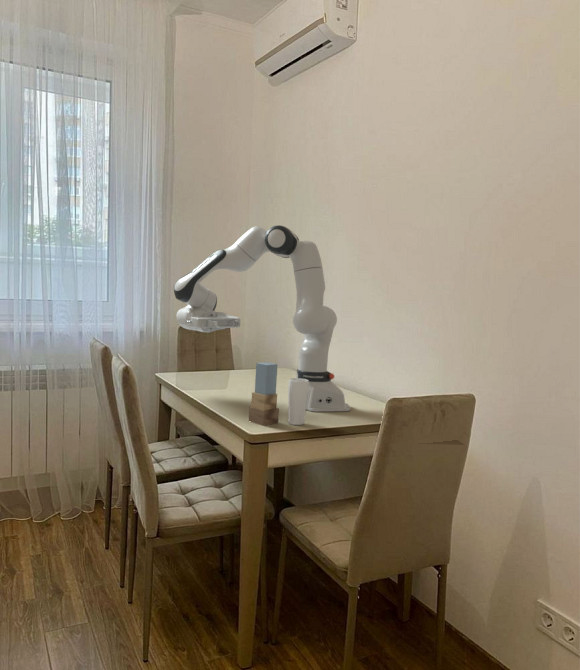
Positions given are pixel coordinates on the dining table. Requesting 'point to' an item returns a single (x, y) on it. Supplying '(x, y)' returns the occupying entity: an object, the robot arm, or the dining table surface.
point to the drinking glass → (297, 400)
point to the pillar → (266, 378)
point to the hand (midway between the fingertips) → (228, 324)
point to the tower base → (263, 416)
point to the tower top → (264, 401)
